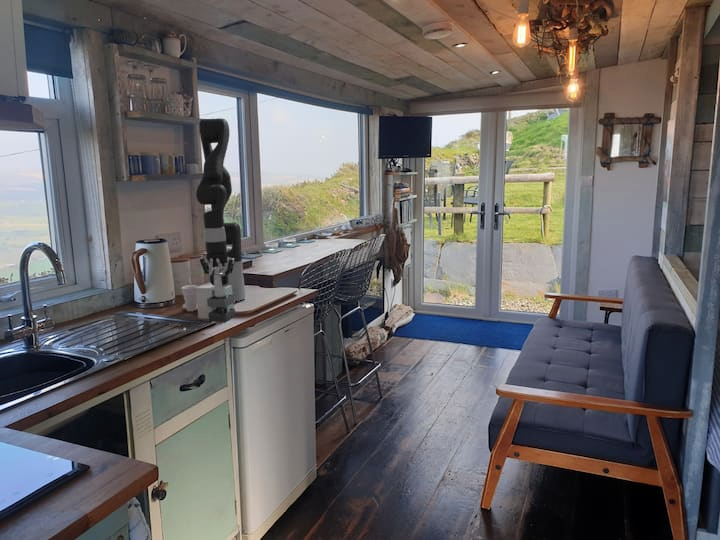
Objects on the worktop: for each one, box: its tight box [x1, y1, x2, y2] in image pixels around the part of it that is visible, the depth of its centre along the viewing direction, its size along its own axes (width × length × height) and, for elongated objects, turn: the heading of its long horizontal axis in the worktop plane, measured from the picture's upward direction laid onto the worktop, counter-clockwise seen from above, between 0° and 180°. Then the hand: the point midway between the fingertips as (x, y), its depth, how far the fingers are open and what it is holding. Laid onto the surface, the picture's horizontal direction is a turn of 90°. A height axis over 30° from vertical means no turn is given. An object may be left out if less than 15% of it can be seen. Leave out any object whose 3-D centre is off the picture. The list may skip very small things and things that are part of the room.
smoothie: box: [180, 275, 199, 312], centre depth 217 cm, size 6×6×14 cm
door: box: [213, 272, 235, 314], centre depth 206 cm, size 4×10×16 cm, turn 165°
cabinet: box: [196, 281, 236, 323], centre depth 207 cm, size 13×13×12 cm
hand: (219, 284), depth 202 cm, fingers closed on door, 4 cm apart
